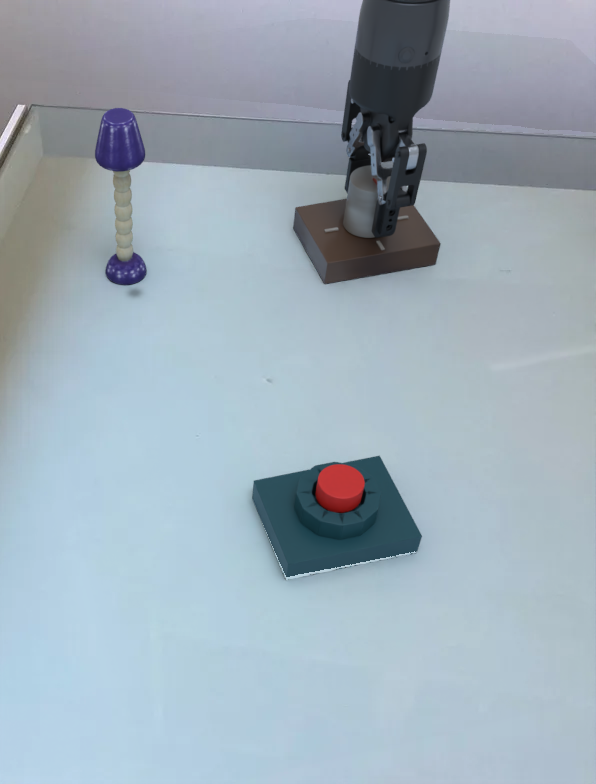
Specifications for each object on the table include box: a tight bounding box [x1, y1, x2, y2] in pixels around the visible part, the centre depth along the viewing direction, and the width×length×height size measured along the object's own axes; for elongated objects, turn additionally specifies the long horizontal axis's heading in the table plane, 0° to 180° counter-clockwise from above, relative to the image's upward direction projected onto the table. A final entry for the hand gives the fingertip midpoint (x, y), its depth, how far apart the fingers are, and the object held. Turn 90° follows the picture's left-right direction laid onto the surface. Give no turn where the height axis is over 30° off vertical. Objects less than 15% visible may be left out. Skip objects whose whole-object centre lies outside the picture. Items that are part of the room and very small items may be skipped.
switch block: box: [251, 455, 423, 577], centre depth 77 cm, size 11×9×4 cm
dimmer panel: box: [292, 198, 442, 285], centre depth 99 cm, size 12×10×3 cm
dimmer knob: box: [343, 165, 391, 238], centre depth 96 cm, size 5×5×5 cm
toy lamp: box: [94, 107, 147, 286], centre depth 92 cm, size 5×5×17 cm
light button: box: [315, 464, 365, 513], centre depth 75 cm, size 4×4×2 cm
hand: (368, 212), depth 97 cm, fingers open, 7 cm apart
